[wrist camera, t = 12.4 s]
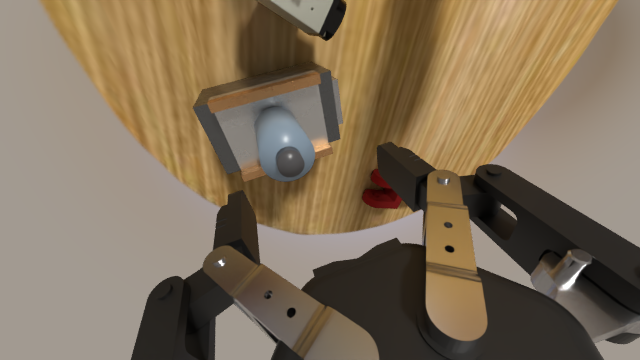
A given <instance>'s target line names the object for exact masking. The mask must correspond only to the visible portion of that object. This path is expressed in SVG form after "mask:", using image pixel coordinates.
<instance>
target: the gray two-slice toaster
mask: <svg viewBox="0 0 640 360" xmlns="http://www.w3.org/2000/svg"><path fill="white" fill-rule="evenodd" d="M275 106H277V107H283V108H285V109H287V110H289V111H290V112H291V113H292V114H293V115H294V116H295V118H296V119H297V121H298V122H299V124H300V126H301V127H302V129H303V130H304V132H305V133H306V135H307V137H308V138H309V140H310V141H311V143H312V144H313V147H314V150H315V159H317V158H321V157H324V156H327V155H330V154H333V150H332V146H331V145H330V144H329V142H333V141H336V140H339V139H340V134H339V126H338V125H339V124H342V123H343V120H342V112H341V104H340V96H339V88H338V80H337V79H336V78H334V77H332V76H331V71H330V70H328V69H326V68H323V67H321V66H319V65H317V64H315V63H313V62H307V63H303V64H300V65H296V66H292V67H288V68H284V69H280V70H276V71H272V72H269V73H265V74H261V75H257V76H253V77H249V78H245V79H242V80H238V81H234V82H230V83H226V84H222V85H218V86H214V87H211V88H207V89H203V90H202V91H201V93H200V95H199V97H198V99H197V101H196V103H195V104H194V106H193V109H194V111H195V113H196V115H197V117H198V119H199V121H200V123H201V125H202V126H203V128H204V130H205V132H206V134H207V136H208V138H209V140H210V142H211V144H212V146H213V148H214V150H215V152H216V153H217V155H218V157H219V159H220V161H221V163H222V165H223V167H224V169H225V171H226V173H227V174H230V173H233V172H236V171H240V170H241V176H242V178H243V180H244V182H245V181H249V180H252V179H255V178H258V177H261V176H264V175H267V174H266V173H265V172H264V171H263V169H262V167H261V164H260V158H259V152H258V146H257V141H256V135H255V128H254V126H255V121H256V118H257V117H258V115H259V114H260V113H261V112H262V111H263V110H265V109H267V108H269V107H275Z"/></svg>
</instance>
